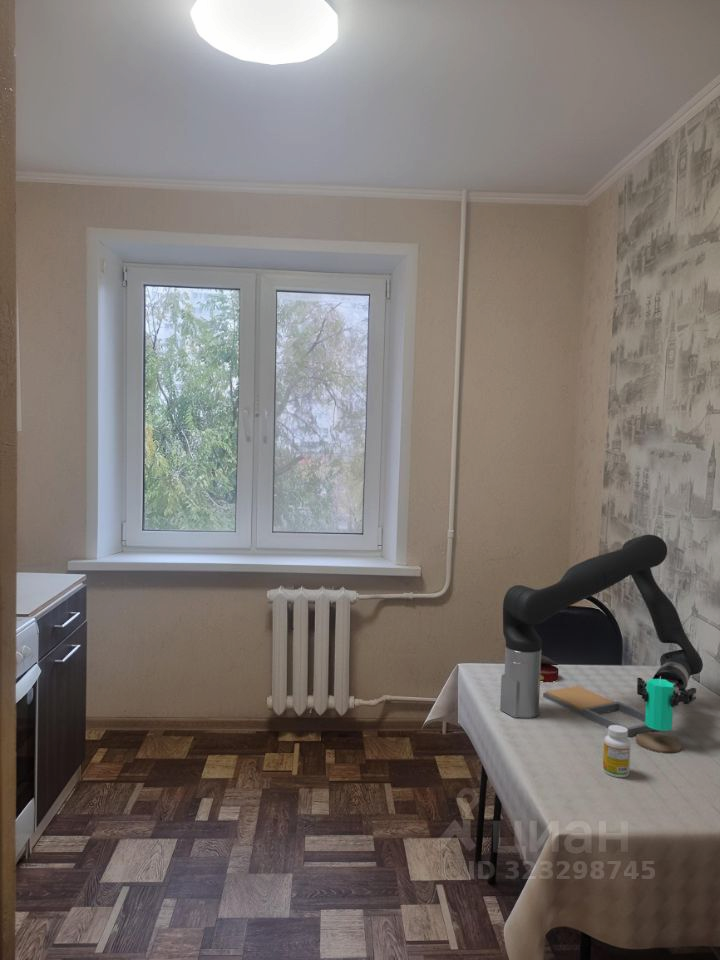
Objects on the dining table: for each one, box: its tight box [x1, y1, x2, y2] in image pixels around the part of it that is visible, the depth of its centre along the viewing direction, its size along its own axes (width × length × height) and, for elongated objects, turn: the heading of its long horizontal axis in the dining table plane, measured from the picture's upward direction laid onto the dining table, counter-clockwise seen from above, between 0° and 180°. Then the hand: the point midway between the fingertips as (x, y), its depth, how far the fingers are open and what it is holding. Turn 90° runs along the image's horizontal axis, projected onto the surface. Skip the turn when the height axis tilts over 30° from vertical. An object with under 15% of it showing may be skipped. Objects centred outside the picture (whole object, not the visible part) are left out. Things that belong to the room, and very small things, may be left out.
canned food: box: [540, 654, 559, 683], centre depth 216 cm, size 11×10×10 cm
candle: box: [644, 676, 674, 732], centre depth 169 cm, size 6×6×12 cm
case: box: [542, 685, 655, 738], centre depth 189 cm, size 13×30×2 cm, turn 27°
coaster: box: [635, 731, 682, 754], centre depth 169 cm, size 10×10×1 cm
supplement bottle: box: [602, 725, 631, 778], centre depth 153 cm, size 5×5×10 cm
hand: (659, 700), depth 166 cm, fingers closed on candle, 5 cm apart
